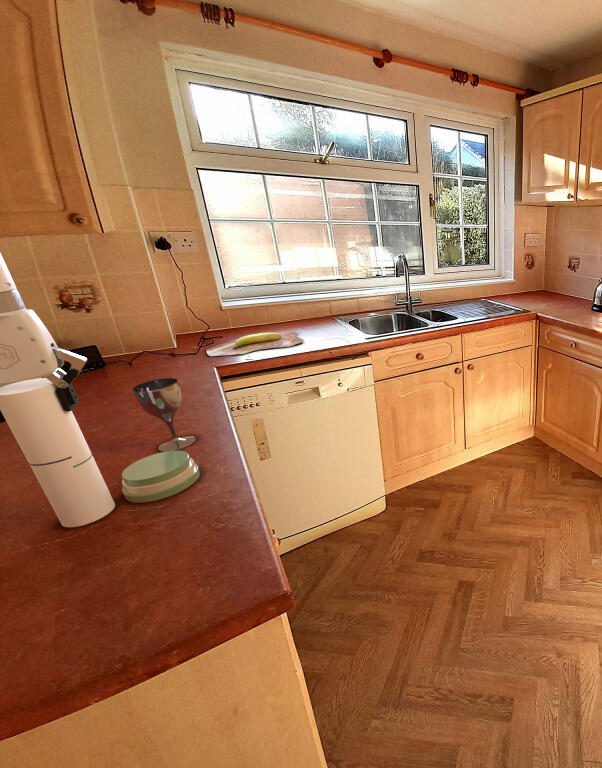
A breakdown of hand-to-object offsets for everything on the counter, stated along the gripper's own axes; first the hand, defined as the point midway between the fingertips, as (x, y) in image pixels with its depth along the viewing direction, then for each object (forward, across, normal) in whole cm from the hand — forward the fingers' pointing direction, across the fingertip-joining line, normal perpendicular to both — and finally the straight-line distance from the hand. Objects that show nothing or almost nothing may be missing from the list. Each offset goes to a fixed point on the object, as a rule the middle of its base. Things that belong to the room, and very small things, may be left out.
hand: (39, 413), depth 68 cm
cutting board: (+20, +26, +107) cm, 112 cm away
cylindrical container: (+20, 0, 0) cm, 20 cm away
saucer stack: (+20, +10, +4) cm, 23 cm away
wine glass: (+20, +10, +23) cm, 32 cm away
